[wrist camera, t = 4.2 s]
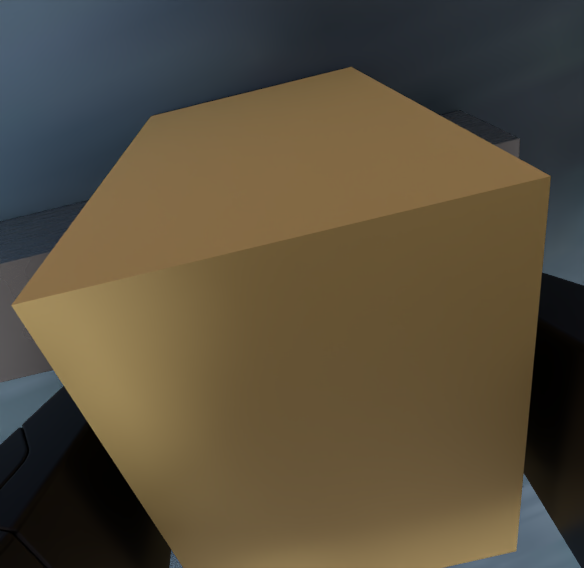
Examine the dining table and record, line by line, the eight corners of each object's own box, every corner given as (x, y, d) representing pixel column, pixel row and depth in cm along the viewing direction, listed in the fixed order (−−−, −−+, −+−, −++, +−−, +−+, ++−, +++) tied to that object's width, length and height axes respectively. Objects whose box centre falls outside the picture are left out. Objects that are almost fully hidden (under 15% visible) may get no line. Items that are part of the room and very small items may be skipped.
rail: (461, 213, 14) (513, 261, 11) (-55, 336, 14) (-118, 410, 12) (460, 109, 12) (519, 138, 10) (-121, 251, 12) (-212, 315, 10)
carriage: (379, 285, 15) (515, 551, 7) (225, 321, 15) (216, 617, 8) (351, 66, 11) (550, 176, 4) (150, 116, 11) (10, 305, 4)
